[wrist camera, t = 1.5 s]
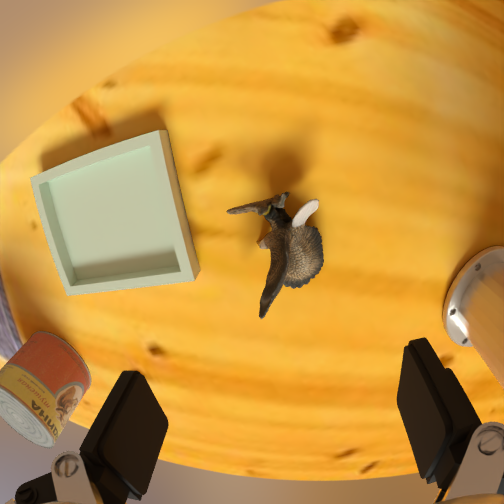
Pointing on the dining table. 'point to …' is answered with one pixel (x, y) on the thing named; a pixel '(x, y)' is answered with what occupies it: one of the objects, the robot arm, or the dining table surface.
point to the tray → (117, 218)
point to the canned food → (42, 388)
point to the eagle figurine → (287, 246)
